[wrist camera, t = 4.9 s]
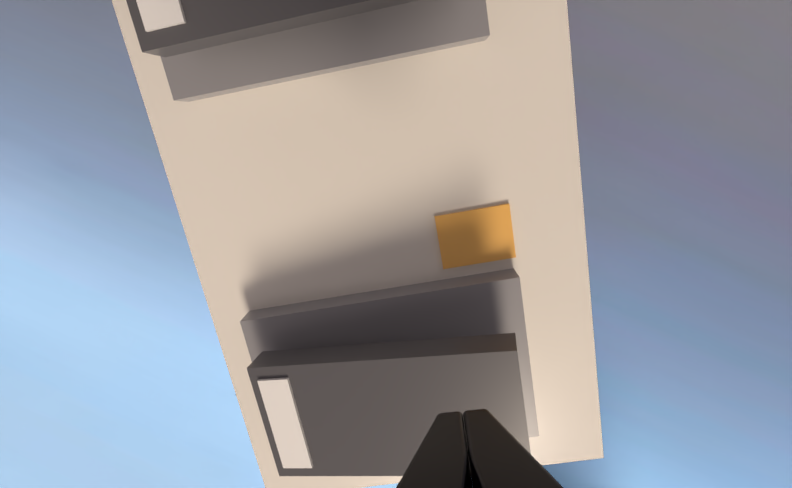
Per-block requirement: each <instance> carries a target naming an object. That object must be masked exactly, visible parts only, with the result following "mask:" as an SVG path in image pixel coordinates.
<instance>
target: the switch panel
mask: <svg viewBox="0 0 792 488" xmlns="http://www.w3.org/2000/svg"><path fill="white" fill-rule="evenodd" d="M112 3H113V6H114V9H115V12H116V15H117V18H118V22H119V25H120V28H121V31H122V34H123V38H124V41H125V44H126V47H127V50H128V53H129V57H130V60H131V63H132V66H133V69H134V72H135V76H136V79H137V82H138V85H139V88H140V91H141V95H142V98H143V101H144V104H145V107H146V110H147V114H148V117H149V120H150V123H151V126H152V129H153V133H154V136H155V139H156V142H157V145H158V148H159V152H160V155H161V158H162V161H163V164H164V167H165V171H166V174H167V177H168V180H169V183H170V186H171V190H172V193H173V196H174V199H175V202H176V205H177V209H178V212H179V215H180V218H181V221H182V225H183V228H184V231H185V234H186V237H187V240H188V244H189V247H190V250H191V253H192V256H193V259H194V263H195V266H196V269H197V272H198V275H199V278H200V282H201V285H202V288H203V291H204V294H205V297H206V301H207V304H208V307H209V310H210V313H211V316H212V320H213V323H214V326H215V329H216V332H217V335H218V339H219V342H220V345H221V348H222V351H223V354H224V358H225V361H226V364H227V367H228V370H229V373H230V377H231V380H232V383H233V386H234V389H235V392H236V396H237V399H238V402H239V405H240V408H241V412H242V415H243V418H244V421H245V424H246V427H247V431H248V434H249V437H250V440H251V443H252V446H253V450H254V453H255V456H256V459H257V462H258V465H259V469H260V472H261V475H262V478H263V481H264V484H265V488H361V487H369V486H377V485H385V484H394V483H399V482H400V480H401V478H402V476H279V473H278V470H277V467H276V463H275V460H274V457H273V454H272V450H271V447H270V444H269V440H268V437H267V434H266V431H265V427H264V424H263V421H262V417H261V414H260V411H259V407H258V404H257V401H256V398H255V394H254V391H253V388H252V384H251V381H250V378H249V375H248V371H247V367H248V366H249V365H250V364H251V363H252V362H253V361H254V360H255V359H256V358H257V356H258V355H259V354H260V353H261V352H262V351H275V350H288V349H302V348H315V347H329V346H342V345H356V344H369V343H383V342H396V341H409V340H423V339H436V338H450V337H463V336H477V335H490V334H504V333H515V335H516V343H517V351H518V359H519V366H520V374H521V382H522V389H523V397H524V405H525V413H526V420H527V428H528V436H529V443H530V451H531V455H532V456H533V457H534V458H535V459H536V460H537V461H538V462H539V463H540V464H541V465H550V464H558V463H566V462H574V461H582V460H591V459H599V458H604V457H603V444H602V432H601V420H600V407H599V395H598V382H597V370H596V358H595V345H594V333H593V320H592V308H591V296H590V283H589V271H588V259H587V246H586V234H585V221H584V209H583V197H582V184H581V172H580V159H579V147H578V135H577V122H576V110H575V98H574V85H573V73H572V60H571V48H570V36H569V23H568V11H567V0H418V1H413V2H409V3H404V4H400V5H396V6H391V7H387V8H382V9H378V10H373V11H369V12H365V13H360V14H356V15H351V16H347V17H342V18H338V19H334V20H329V21H325V22H320V23H316V24H311V25H307V26H302V27H298V28H294V29H289V30H285V31H280V32H276V33H271V34H267V35H263V36H258V37H254V38H249V39H245V40H240V41H236V42H232V43H227V44H223V45H218V46H214V47H209V48H205V49H201V50H196V51H192V52H187V53H183V54H178V55H174V56H169V57H161V56H157V55H152V54H148V53H143V52H142V50H141V47H140V44H139V41H138V38H137V34H136V31H135V28H134V25H133V21H132V18H131V15H130V12H129V8H128V5H127V2H126V0H112Z"/></svg>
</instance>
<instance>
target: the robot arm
mask: <svg viewBox="0 0 792 488" xmlns="http://www.w3.org/2000/svg"><path fill="white" fill-rule="evenodd" d="M463 418H464V420H463ZM464 426H465V428H464ZM465 433H466V435H465ZM466 441H467V442H466ZM467 448H468V449H467ZM468 456H469V457H468ZM469 463H470V464H469ZM471 478H472V479H471ZM472 485H473V486H472ZM396 488H563V487H562V486H561V485H560V484H559V483H558V482H557V481H556V480H555V479H554V478H553V477H552V475H551V474H550V473H549V472H548V471H547V470H546V469H545V468H544V467H543V466H542V465H541V464H540V463H539V462H538V461H537V460H536V459H535V458H534V457H533V456H532V455H531V454H530V453H529V452H528V451H527V450H526V449H525V448H524V447H523V446H522V445H521V444H520V443H519V442H518V440H517V439H516V438H515V437H514V436H513V435H512V434H511V433H510V432H509V431H508V430H507V429H506V428H505V427H504V426H503V425H502V424H501V423H500V422H499V421H498V420H497V419H496V418H495V417H494V416H493V415H492V414H491V413H490V412H489V411H488V410H487V409H476V410H467V411H465V412H464V413H463V415H462V413H461V412H459V411H456V412H446V413H439V414H438V415H437V417H436V418H435V420H434V422H433V424H432V425H431V427H430V429H429V431H428V433H427V434H426V436H425V438H424V440H423V441H422V443H421V445H420V447H419V448H418V450H417V452H416V454H415V455H414V457H413V459H412V461H411V462H410V464H409V466H408V468H407V469H406V471H405V473H404V475H403V476H402V478H401V480H400V482H399V483H398V485H397V487H396Z"/></svg>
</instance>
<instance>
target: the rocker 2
mask: <svg viewBox="0 0 792 488" xmlns="http://www.w3.org/2000/svg"><path fill="white" fill-rule="evenodd" d="M247 371H248V375H249V378H250V381H251V384H252V388H253V391H254V394H255V398H256V401H257V404H258V407H259V411H260V414H261V417H262V421H263V424H264V427H265V431H266V434H267V437H268V440H269V444H270V447H271V450H272V454H273V457H274V460H275V463H276V467H277V470H278V473H279V476H403V475H404V473H405V471H406V469H407V468H408V466H409V464H410V462H411V461H412V459H413V457H414V455H415V454H416V452H417V450H418V448H419V447H420V445H421V443H422V441H423V440H424V438H425V436H426V434H427V433H428V431H429V429H430V427H431V425H432V424H433V422H434V420H435V418H436V417H437V415H438V414H439V413H446V412H456V411H459V412H461V413H462V415H463V413H464V412H465V411H467V410H476V409H487V410H488V411H489V412H490V413H491V414H492V415H493V416H494V417H495V418H496V419H497V420H498V421H499V422H500V423H501V424H502V425H503V426H504V427H505V428H506V429H507V430H508V431H509V432H510V433H511V434H512V435H513V436H514V437H515V438H516V439H517V440H518V442H519V443H520V444H521V445H522V446H523V447H524V448H525V449H526V450H527V451H528V452H529V453H530V454H531V451H530V443H529V436H528V428H527V420H526V413H525V405H524V397H523V389H522V382H521V374H520V366H519V359H518V351H517V343H516V335H515V333H504V334H490V335H477V336H463V337H450V338H436V339H423V340H409V341H396V342H383V343H369V344H356V345H342V346H329V347H315V348H302V349H288V350H275V351H262V352H261V353H260V354H259V355H258V356H257V358H256V359H255V360H254V361H253V362H252V363H251V364H250V365H249V366H248V367H247ZM463 420H464V418H463ZM464 428H465V426H464ZM465 435H466V433H465ZM466 442H467V441H466ZM467 449H468V448H467ZM468 457H469V456H468ZM469 464H470V463H469Z"/></svg>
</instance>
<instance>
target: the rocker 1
mask: <svg viewBox="0 0 792 488" xmlns="http://www.w3.org/2000/svg"><path fill="white" fill-rule="evenodd" d="M413 1H418V0H126V2H127V5H128V8H129V12H130V15H131V18H132V21H133V25H134V28H135V31H136V34H137V38H138V41H139V44H140V47H141V50H142V52H143V53H148V54H152V55H157V56H161V57H169V56H174V55H178V54H183V53H187V52H192V51H196V50H201V49H205V48H209V47H214V46H218V45H223V44H227V43H232V42H236V41H240V40H245V39H249V38H254V37H258V36H263V35H267V34H271V33H276V32H280V31H285V30H289V29H294V28H298V27H302V26H307V25H311V24H316V23H320V22H325V21H329V20H334V19H338V18H342V17H347V16H351V15H356V14H360V13H365V12H369V11H373V10H378V9H382V8H387V7H391V6H396V5H400V4H404V3H409V2H413Z"/></svg>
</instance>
